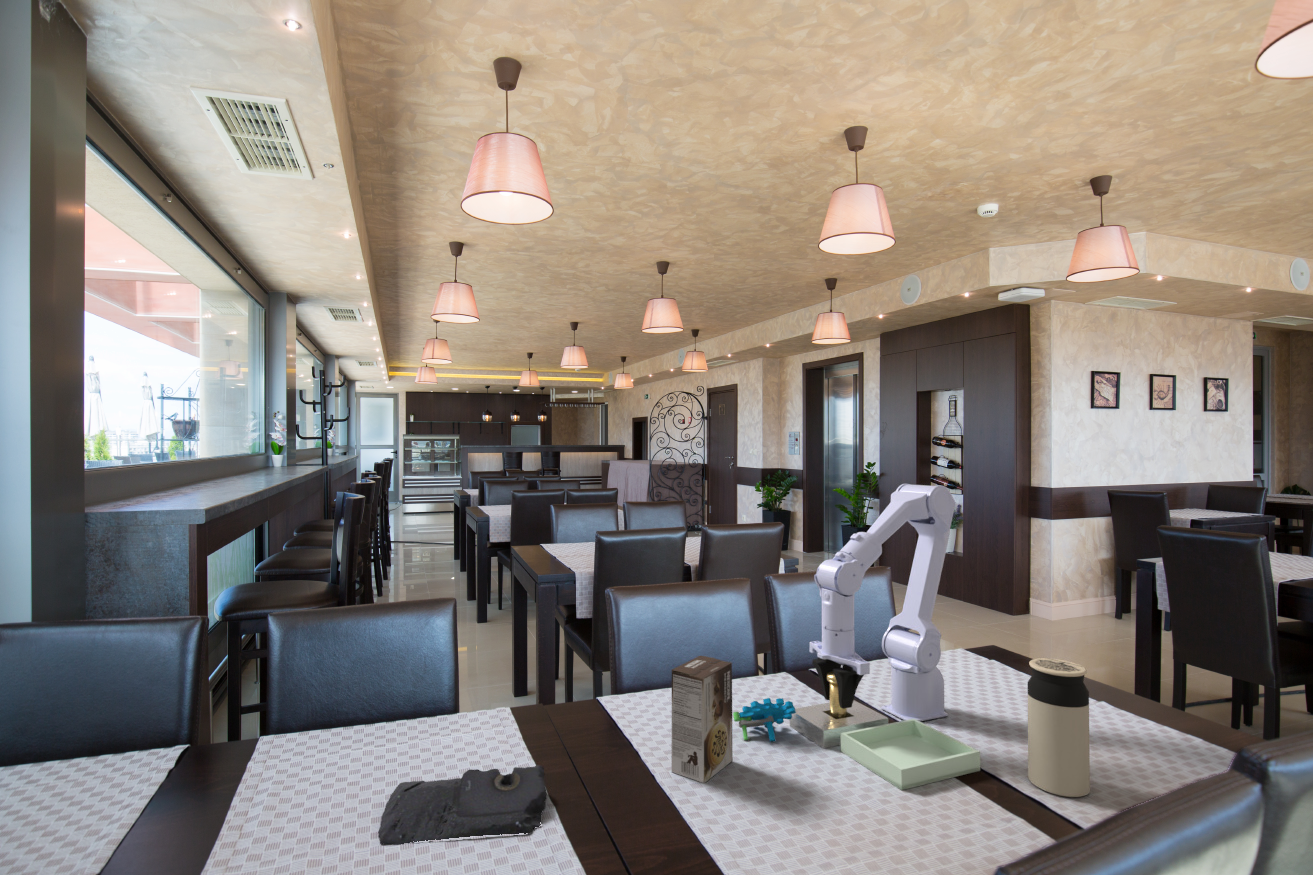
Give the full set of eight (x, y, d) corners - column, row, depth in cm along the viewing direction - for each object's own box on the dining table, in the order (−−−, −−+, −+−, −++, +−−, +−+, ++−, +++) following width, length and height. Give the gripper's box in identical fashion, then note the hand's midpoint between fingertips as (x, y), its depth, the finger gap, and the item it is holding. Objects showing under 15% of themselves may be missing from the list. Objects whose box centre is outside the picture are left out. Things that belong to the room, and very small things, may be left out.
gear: (793, 715, 123) (794, 691, 116) (800, 748, 119) (802, 725, 112) (734, 722, 123) (731, 698, 116) (739, 755, 119) (736, 732, 112)
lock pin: (840, 724, 123) (840, 669, 123) (854, 732, 119) (854, 676, 120) (822, 727, 121) (822, 672, 122) (836, 736, 118) (836, 679, 118)
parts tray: (914, 735, 118) (914, 718, 118) (980, 770, 105) (980, 751, 105) (840, 751, 112) (840, 733, 112) (901, 790, 99) (901, 769, 99)
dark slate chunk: (397, 791, 99) (397, 759, 99) (547, 780, 103) (547, 749, 103) (369, 852, 84) (369, 813, 84) (546, 837, 87) (546, 800, 88)
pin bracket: (851, 714, 128) (851, 698, 128) (888, 734, 118) (888, 717, 119) (789, 725, 122) (789, 709, 122) (823, 748, 113) (823, 730, 113)
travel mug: (1069, 804, 95) (1068, 677, 96) (1016, 779, 102) (1015, 661, 103) (1101, 791, 99) (1100, 669, 99) (1048, 768, 106) (1047, 654, 106)
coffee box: (699, 751, 112) (700, 654, 112) (733, 761, 108) (734, 661, 108) (669, 772, 104) (669, 668, 105) (704, 784, 101) (704, 676, 101)
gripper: (796, 619, 126) (796, 692, 126) (846, 639, 113) (846, 721, 112) (826, 616, 129) (826, 687, 128) (879, 635, 115) (879, 714, 115)
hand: (838, 702), depth 120 cm, fingers closed on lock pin, 4 cm apart
